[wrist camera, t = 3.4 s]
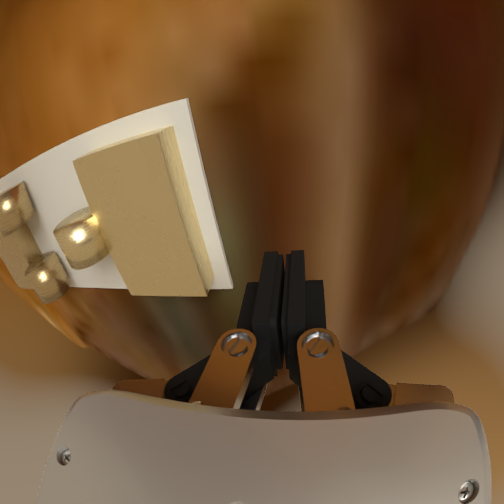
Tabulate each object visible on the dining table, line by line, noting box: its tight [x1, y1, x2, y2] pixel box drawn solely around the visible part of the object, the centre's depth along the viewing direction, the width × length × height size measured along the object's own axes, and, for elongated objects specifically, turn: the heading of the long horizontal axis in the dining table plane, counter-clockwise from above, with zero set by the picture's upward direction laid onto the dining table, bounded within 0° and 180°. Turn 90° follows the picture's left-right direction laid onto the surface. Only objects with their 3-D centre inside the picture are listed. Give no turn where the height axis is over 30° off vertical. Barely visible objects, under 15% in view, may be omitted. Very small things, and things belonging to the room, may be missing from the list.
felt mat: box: [0, 98, 233, 289], centre depth 22 cm, size 15×32×1 cm, turn 99°
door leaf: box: [53, 125, 215, 296], centre depth 18 cm, size 12×11×4 cm
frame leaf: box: [0, 181, 71, 304], centre depth 21 cm, size 12×11×4 cm
